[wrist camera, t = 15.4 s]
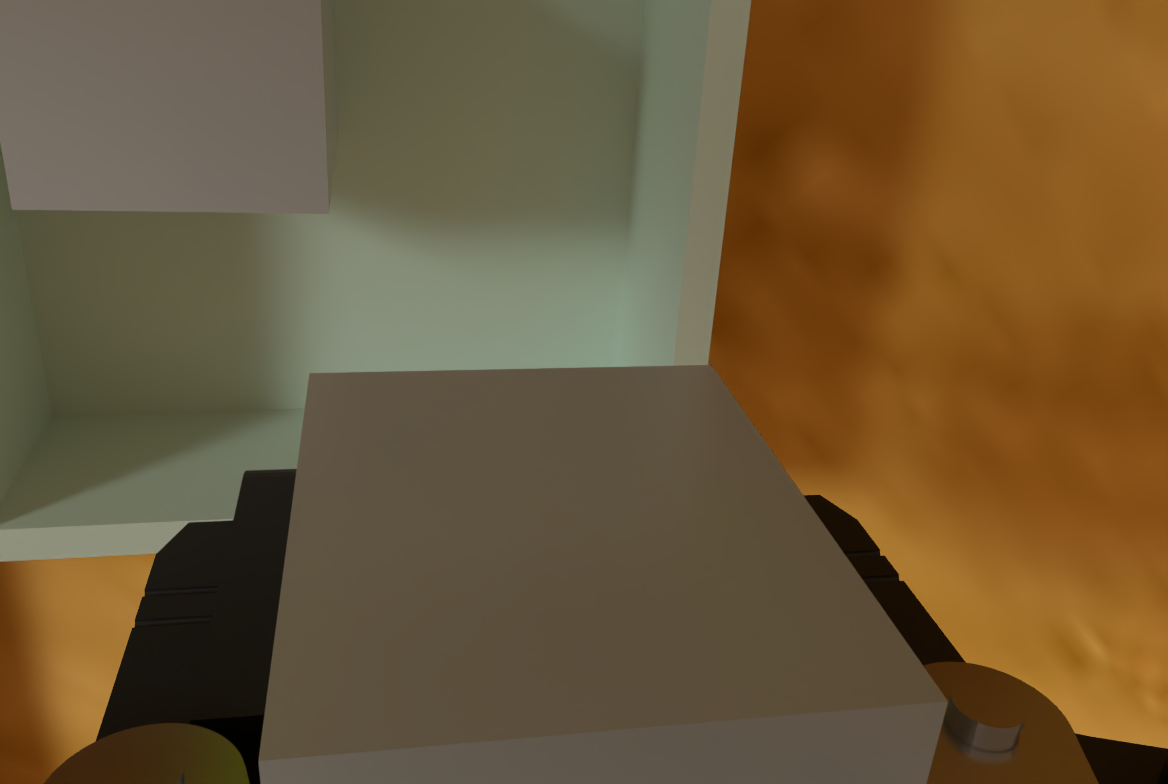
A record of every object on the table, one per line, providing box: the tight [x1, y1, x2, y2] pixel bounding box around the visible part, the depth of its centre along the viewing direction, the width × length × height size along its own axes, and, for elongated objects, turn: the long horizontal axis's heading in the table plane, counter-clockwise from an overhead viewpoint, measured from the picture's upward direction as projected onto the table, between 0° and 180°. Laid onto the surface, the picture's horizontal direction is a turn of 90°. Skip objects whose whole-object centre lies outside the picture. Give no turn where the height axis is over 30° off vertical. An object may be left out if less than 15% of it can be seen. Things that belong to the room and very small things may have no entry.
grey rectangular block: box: [258, 365, 948, 784], centre depth 9 cm, size 4×4×5 cm
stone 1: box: [0, 0, 338, 214], centre depth 15 cm, size 4×4×5 cm
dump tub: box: [0, 0, 751, 562], centre depth 17 cm, size 12×12×5 cm
